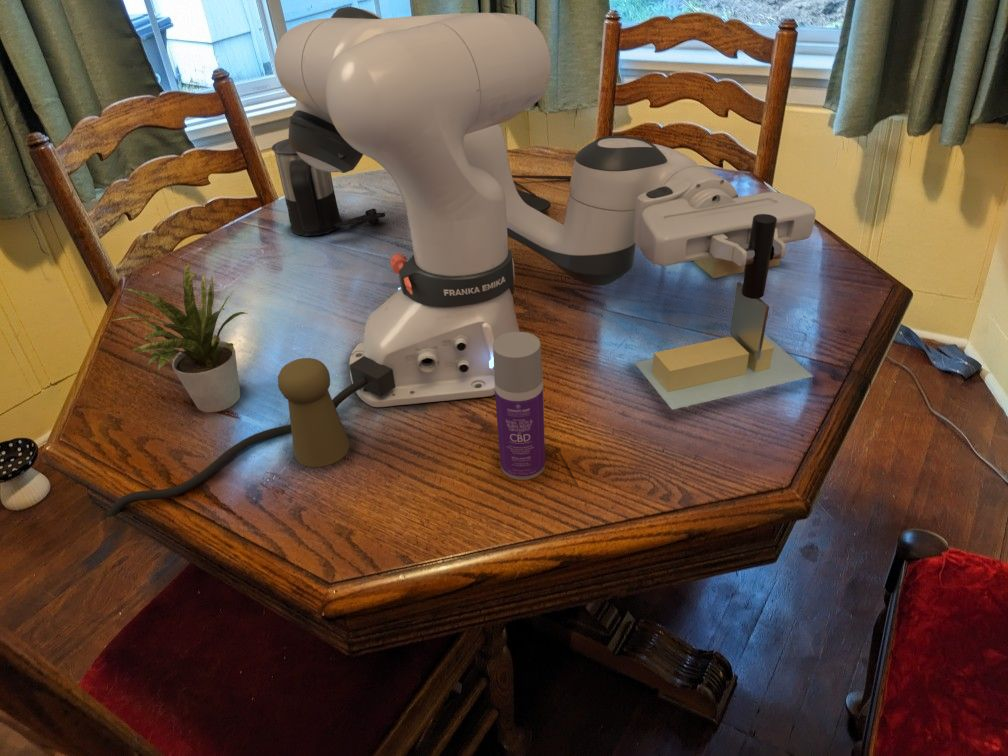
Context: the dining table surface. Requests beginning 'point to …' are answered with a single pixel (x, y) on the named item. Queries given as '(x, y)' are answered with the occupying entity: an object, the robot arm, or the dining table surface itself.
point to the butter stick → (700, 363)
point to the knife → (754, 289)
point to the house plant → (195, 347)
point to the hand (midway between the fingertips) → (763, 256)
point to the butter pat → (761, 358)
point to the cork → (312, 413)
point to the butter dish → (730, 380)
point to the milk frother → (311, 195)
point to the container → (519, 404)
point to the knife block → (725, 266)
